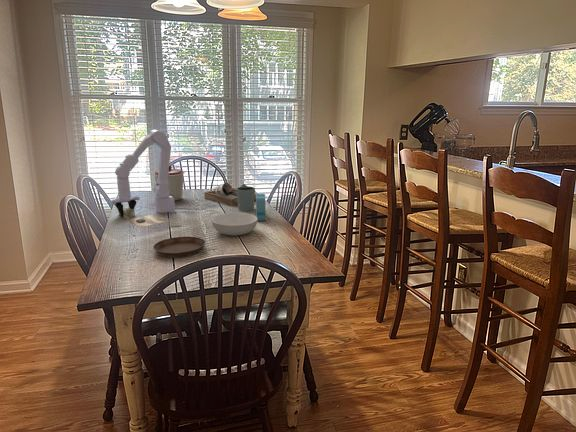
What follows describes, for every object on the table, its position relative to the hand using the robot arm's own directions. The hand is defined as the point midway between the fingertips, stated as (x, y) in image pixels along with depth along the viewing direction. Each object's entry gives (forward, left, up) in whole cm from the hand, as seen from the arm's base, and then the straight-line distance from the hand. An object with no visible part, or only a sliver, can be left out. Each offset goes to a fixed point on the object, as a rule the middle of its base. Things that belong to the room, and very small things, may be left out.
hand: (126, 215), depth 225 cm
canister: (-38, -21, -2) cm, 43 cm away
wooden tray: (-63, +5, -1) cm, 63 cm away
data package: (-48, +50, -2) cm, 69 cm away
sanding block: (0, 0, -1) cm, 1 cm away
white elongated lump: (-66, +5, -2) cm, 66 cm away
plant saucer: (+7, +62, -2) cm, 62 cm away
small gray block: (0, +16, 0) cm, 16 cm away
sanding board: (-3, +16, -1) cm, 16 cm away
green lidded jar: (-55, +30, -2) cm, 63 cm away
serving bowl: (-24, +59, -2) cm, 64 cm away
